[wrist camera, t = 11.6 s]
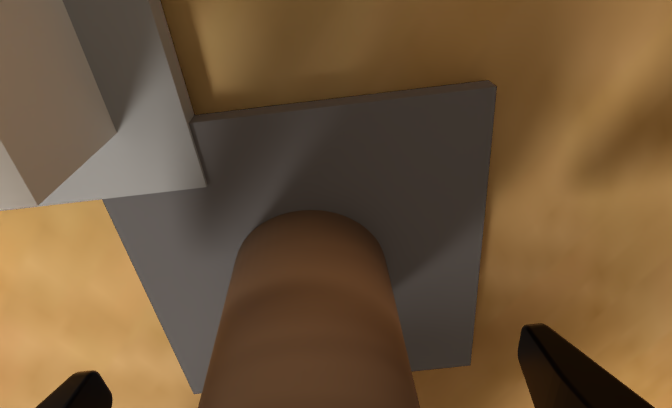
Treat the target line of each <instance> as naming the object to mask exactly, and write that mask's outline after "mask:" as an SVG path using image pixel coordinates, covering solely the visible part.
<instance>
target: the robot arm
mask: <svg viewBox="0 0 672 408" xmlns="http://www.w3.org/2000/svg"><path fill="white" fill-rule="evenodd" d="M518 359H519V363H520V366H521V369H522V372H523V374H524V377H525V380H526V383H527V386H528V389H529V392H530V395H531V398H532V401H533V403H534V406H535V408H655V407H653V406H652V405H651V404H649V403H648V402H647V401H645V400H644V399H643V398H641V397H640V396H639V395H638V394H636V393H635V392H634V391H632V390H631V389H630V388H628V387H627V386H626V385H624V384H623V383H622V382H620V381H619V380H618V379H617V378H615V377H614V376H613V375H611V374H610V373H609V372H607V371H606V370H605V369H603V368H602V367H601V366H600V365H598V364H597V363H596V362H594V361H593V360H592V359H590V358H589V357H588V356H586V355H585V354H584V353H582V352H581V351H580V350H579V349H577V348H576V347H575V346H573V345H572V344H571V343H569V342H568V341H567V340H565V339H564V338H563V337H561V336H560V335H559V334H558V333H556V332H555V331H554V330H552V329H551V328H550V327H548V326H547V325H545V324H542V323H538V324H529V325H524V326H523V328H522V330H521V336H520V341H519V347H518ZM111 407H112V394H111V391H110V390H109V388H108V387H107V385H106V384H105V382H104V380H103V379H102V377H101V376H100V374H99V373H98V372H96V371H83V372H77V373H75V374H73V375H72V376H70V377H69V378H68V379H67V380H66V381H65V382H64V383H62V384H61V385H60V386H59V387H58V388H57V389H56V390H55V391H54V392H52V393H51V394H50V395H49V396H48V397H47V398H46V399H45V400H44V401H42V402H41V403H40V404H39V405H38V406H37V407H36V408H111Z"/></svg>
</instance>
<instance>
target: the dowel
mask: <svg viewBox="0 0 672 408" xmlns="http://www.w3.org/2000/svg"><path fill="white" fill-rule="evenodd" d="M198 408H420V406H419V402H418V398H417V393H416V389H415V385H414V380H413V376H412V372H411V368H410V363H409V359H408V355H407V350H406V346H405V342H404V337H403V333H402V329H401V325H400V320H399V316H398V312H397V307H396V303H395V299H394V294H393V290H392V286H391V281H390V277H389V273H388V269H387V264H386V260H385V256H384V253H383V250H382V248H381V246H380V244H379V242H378V241H377V240H376V238H375V237H374V236H373V235H372V234H371V233H370V232H369V231H368V230H367V229H366V228H365V227H363V226H362V225H361V224H359V223H358V222H356V221H354V220H352V219H350V218H348V217H346V216H343V215H340V214H337V213H333V212H328V211H322V210H300V211H294V212H289V213H285V214H282V215H279V216H276V217H274V218H272V219H269V220H268V221H266V222H264V223H262V224H261V225H260V226H258V227H257V228H256V229H254V230H253V231H252V232H251V233H250V234H249V235H248V236H247V237H246V239H245V240H244V242H243V243H242V245H241V247H240V249H239V251H238V254H237V257H236V260H235V264H234V268H233V272H232V276H231V280H230V284H229V288H228V292H227V296H226V300H225V304H224V308H223V312H222V316H221V320H220V324H219V327H218V331H217V335H216V339H215V343H214V347H213V351H212V355H211V359H210V363H209V367H208V371H207V375H206V379H205V383H204V387H203V391H202V395H201V399H200V403H199V407H198Z"/></svg>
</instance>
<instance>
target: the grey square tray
mask: <svg viewBox="0 0 672 408" xmlns="http://www.w3.org/2000/svg"><path fill="white" fill-rule="evenodd" d="M193 117H194V112H193V109H192V105H191V102H190V99H189V95H188V92H187V89H186V85H185V82H184V78H183V75H182V72H181V68H180V65H179V62H178V58H177V55H176V52H175V48H174V45H173V42H172V38H171V35H170V32H169V28H168V25H167V21H166V18H165V15H164V11H163V8H162V5H161V1H160V0H0V211H4V210H12V209H21V208H30V207H38V206H47V205H56V204H64V203H73V202H82V201H90V200H99V199H108V198H117V197H125V196H134V195H143V194H151V193H160V192H169V191H177V190H186V189H195V188H203V187H207V181H206V178H205V175H204V172H203V168H202V165H201V162H200V159H199V155H198V152H197V149H196V146H195V143H194V139H193V136H192V133H191V130H190V126H189V122H190V121H191V119H192V118H193Z"/></svg>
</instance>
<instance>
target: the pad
mask: <svg viewBox="0 0 672 408" xmlns="http://www.w3.org/2000/svg"><path fill="white" fill-rule="evenodd" d="M496 90H497V86H495V85H494V84H493V83H491V82H490V81H489V80H486V81H478V82H469V83H461V84H453V85H444V86H436V87H427V88H419V89H411V90H402V91H394V92H385V93H377V94H369V95H360V96H352V97H343V98H335V99H327V100H318V101H310V102H301V103H293V104H285V105H276V106H268V107H259V108H251V109H243V110H234V111H226V112H217V113H209V114H201V115H194V117H193V118H192V119H191V121H190V122H189V126H190V130H191V133H192V136H193V139H194V143H195V146H196V149H197V152H198V155H199V159H200V162H201V165H202V168H203V172H204V175H205V178H206V181H207V187H203V188H195V189H186V190H177V191H169V192H160V193H151V194H143V195H134V196H125V197H117V198H108V199H102V200H103V202H104V204H105V207H106V209H107V211H108V213H109V215H110V217H111V219H112V221H113V224H114V226H115V228H116V230H117V232H118V234H119V236H120V238H121V241H122V243H123V245H124V247H125V249H126V251H127V253H128V255H129V257H130V260H131V262H132V264H133V266H134V268H135V270H136V272H137V274H138V277H139V279H140V281H141V283H142V285H143V287H144V289H145V291H146V294H147V296H148V298H149V300H150V302H151V304H152V306H153V308H154V311H155V313H156V315H157V317H158V319H159V321H160V323H161V325H162V327H163V330H164V332H165V334H166V336H167V338H168V340H169V342H170V344H171V347H172V349H173V351H174V353H175V355H176V357H177V359H178V361H179V364H180V366H181V368H182V370H183V372H184V374H185V376H186V378H187V380H188V383H189V385H190V387H191V389H192V391H193V393H194V394H199V393H202V391H203V387H204V383H205V379H206V375H207V371H208V367H209V363H210V359H211V355H212V351H213V347H214V343H215V339H216V335H217V331H218V327H219V324H220V320H221V316H222V312H223V308H224V304H225V300H226V296H227V292H228V288H229V284H230V280H231V276H232V272H233V268H234V264H235V260H236V257H237V254H238V251H239V249H240V247H241V245H242V243H243V242H244V240H245V239H246V237H247V236H248V235H249V234H250V233H251V232H252V231H253V230H254V229H256V228H257V227H258V226H260V225H261V224H262V223H264V222H266V221H268V220H269V219H272V218H274V217H276V216H279V215H282V214H285V213H289V212H294V211H300V210H322V211H328V212H333V213H337V214H340V215H343V216H346V217H348V218H350V219H352V220H354V221H356V222H358V223H359V224H361V225H362V226H363V227H365V228H366V229H367V230H368V231H369V232H370V233H371V234H372V235H373V236H374V237H375V238H376V240H377V241H378V242H379V244H380V246H381V248H382V250H383V253H384V256H385V260H386V264H387V269H388V273H389V277H390V281H391V286H392V290H393V294H394V299H395V303H396V307H397V312H398V316H399V320H400V325H401V329H402V333H403V337H404V342H405V346H406V350H407V355H408V359H409V363H410V368H411V371H421V370H431V369H440V368H450V367H460V366H469V365H471V354H472V343H473V333H474V322H475V312H476V301H477V291H478V280H479V270H480V259H481V249H482V238H483V228H484V217H485V206H486V196H487V185H488V175H489V164H490V154H491V143H492V133H493V122H494V112H495V101H496Z"/></svg>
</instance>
